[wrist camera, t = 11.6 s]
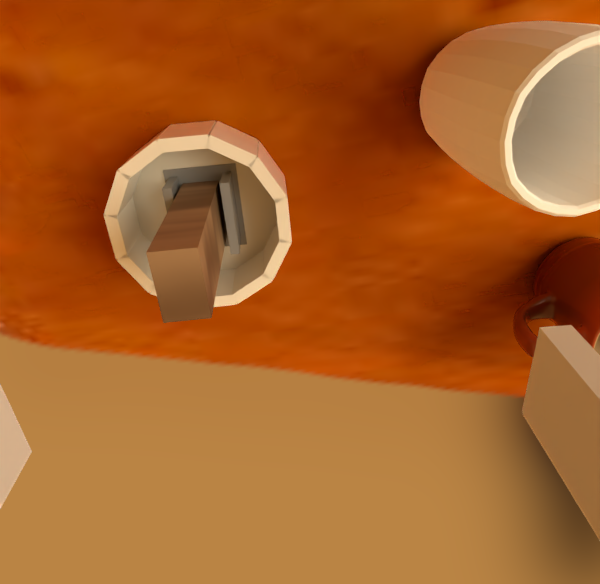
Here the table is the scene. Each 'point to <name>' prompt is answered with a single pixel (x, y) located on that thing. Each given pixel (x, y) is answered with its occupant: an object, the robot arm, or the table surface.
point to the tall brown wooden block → (189, 253)
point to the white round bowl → (234, 193)
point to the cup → (522, 111)
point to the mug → (565, 293)
